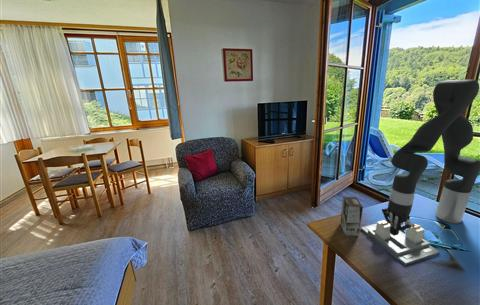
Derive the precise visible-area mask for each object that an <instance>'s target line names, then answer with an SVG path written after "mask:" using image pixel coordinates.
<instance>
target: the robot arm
mask: <svg viewBox="0 0 480 305" xmlns="http://www.w3.org/2000/svg"><path fill="white" fill-rule="evenodd" d="M479 91H480V83H479V82H478V81H477V80H476V79H450V80H449V79H448V80H442V81H439V82H438V83H437V84H436V85H435V87H434V88H433V91H432V99H433V103H434V106H435V109H436V113H437V115H436V116H434V117H432V118H430V119H429V120H427V121H426V122H424V123H423V124H422V125H420V127H418V129H417V130H416V131H415V133H414V135H413V136H412V137H411V139H410V140H409V141H408V142H407V143H405V144H404V145H403V146H402V147H401V148H399V149H398V150H397V151H396V152H395V153H394V154H393V156H392V157H391V166H393V167H394V168H396V169H399V170H402V171H405V172H408V174H405V173H397V174H396V175H395V176H394V178H393V182H392V187H391V190H390V193H389V198H388V203H387V207H386V208H382V209H381V211H382V214H383V217H384V220H385V221H387V223H389V224H390V234H392V235H393V236H395V235H398V234H399V231H401V230H405V229H408V228H411V227H414V226H415V225H414V224H415V223H412V222H411V221H410V214H411V212H412V208H413V205H414V204H413V203H414V199H415V193H416V192H415V191H416V186H417V184H418V181H419V179H420V178H421V176H422V175H423V173H424V172H425V170H427V168H428V166H429V162H428V159H427V157H426V156H424V155H422V154H417V153H428V152H431V151H432V150H433V148H434V147H435V146H436V144H437V142H438V141H439V140H440V138H441V140H442V146H443V152H444V156H443V157H444V158H443V159H444V160H443V161H444V170H445V172H447V173H449V174H451V175H454V176H458V177H461V178H462V179H458V178H457V179H456V178H455V179H453V178H451V179H447V180H445V182H444V184H443V188H442V191H441V195H440V198H439V201H438V205H437V209H436V212H435V216H436V218H438V219H440V220H441V221H444V222H446V223H449V224H456V225H457V224H461V222H462V220H463V218H464V215H465V210H466V208H467V205H468V202H469V200H470V196H471V193H472V190H473V188H474V186H475V184H476V180H477V178H478V175H479V173H480V159H477V158H472V157H468V156H462V155H460V154H459V152H460V151H461V150H463V149H465V148H466V147H467V146H469V145H470V144H471V143H472V141H473V140H474V127H473V124H472V123H471V122H470V120H469V119H467V118H466V117H465V116H464V115H463V114H462V113H464V112H465V110H466V109H467V108H468V107H469V106H470V105H471V104H472V103H473V102H474V101H475V99H476V98H477V96H478V94H479Z"/></svg>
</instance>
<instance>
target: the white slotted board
mask: <svg viewBox="0 0 480 305" xmlns="http://www.w3.org/2000/svg"><path fill="white" fill-rule="evenodd" d="M376 225H377V223H374V224H370V225H369V224H368V225H365V226H362V227H361V226H360V231H362V232H363V233H364V234H366V236H368V237H369V238H370V239H371V240H373V241H374V242H375V243H377V245H379V246H381V247H382V248H383V249H384V250H386V251H387V253H389V254H390V255H392V257H394V258H395V259H397V261H398V262H399V263H401V264H402V265H404V266H408V265H410V264H413V263H417V262H420V261H422V260H425V259H429V258H432V257H435V256H438V255H440V254H441V251H440V250H438V249H436V248H435V247H433V246H432V245H430V244H431V242H429V241H428V240H426V239H424V237H423V238H422V242H421V243H418V244H415V243H413V242H412V241H410V240H409V239H407V238H406V237H405V236H406V234H405V232H404V230H401V231H399V234H398V235H395V236H393V235H392V234H390V238H389V239H385V240H383V239H382V238H381V237H380V236H378V235H377V234H376V233H375V231H376ZM405 230H406V231H407V229H405Z"/></svg>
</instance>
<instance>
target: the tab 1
mask: <svg viewBox="0 0 480 305" xmlns="http://www.w3.org/2000/svg"><path fill="white" fill-rule="evenodd" d="M376 224H377V225H376V231H375V233H376V234H377V235H378V236H380V237H381V238H382V239H383V240H385V239H389V238H390V224H389V223H387V221H386V219H383V220H379V221H376Z"/></svg>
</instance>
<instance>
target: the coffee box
mask: <svg viewBox="0 0 480 305" xmlns="http://www.w3.org/2000/svg"><path fill="white" fill-rule="evenodd" d="M363 208H364V206H363V205H362V203H361V202H360V201H359V199H358V197H356V196H342V203H341V213H340V221H339V222H340V223H339V224H340V225H341V229H342V230H343V234H344V235H345V236H354V237H356V236H357V237H359V235H360V231H361V221H362V216H363V215H362V214H363Z"/></svg>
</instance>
